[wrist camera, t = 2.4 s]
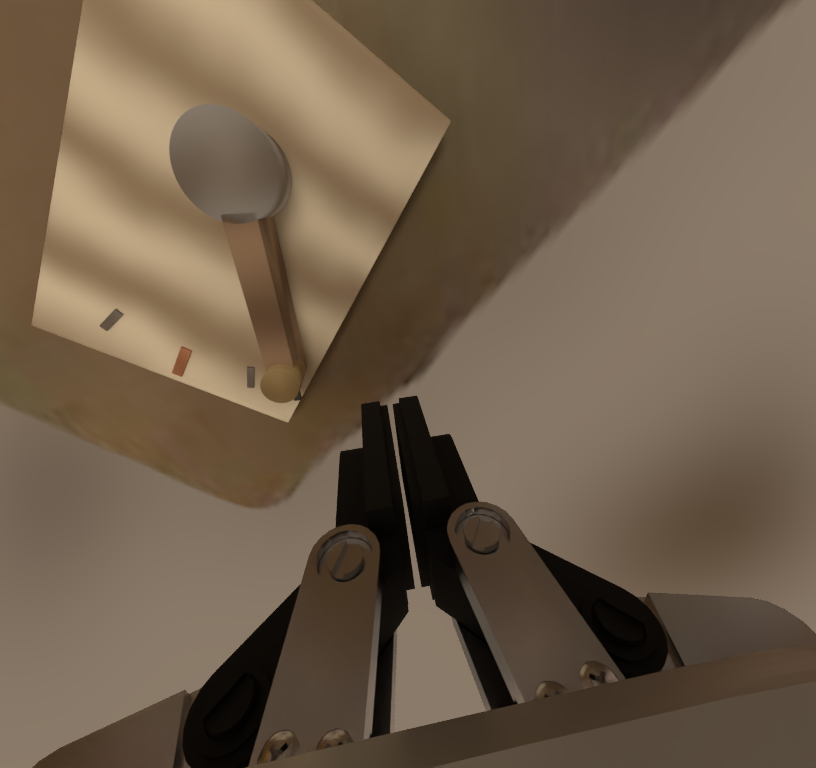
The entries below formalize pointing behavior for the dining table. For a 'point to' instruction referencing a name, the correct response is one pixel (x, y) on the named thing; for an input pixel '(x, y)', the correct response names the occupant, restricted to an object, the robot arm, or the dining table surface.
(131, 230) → the dial board
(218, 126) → the lever
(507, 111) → the dining table surface
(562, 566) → the robot arm
